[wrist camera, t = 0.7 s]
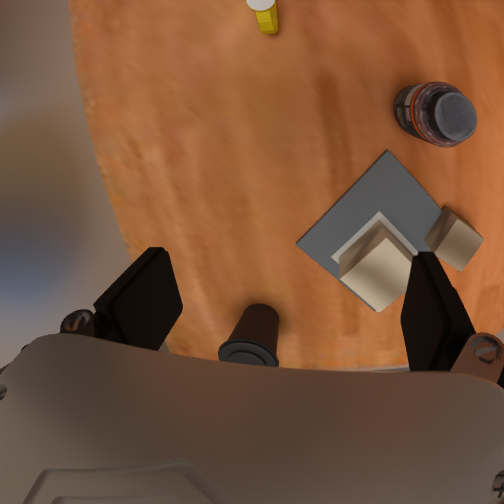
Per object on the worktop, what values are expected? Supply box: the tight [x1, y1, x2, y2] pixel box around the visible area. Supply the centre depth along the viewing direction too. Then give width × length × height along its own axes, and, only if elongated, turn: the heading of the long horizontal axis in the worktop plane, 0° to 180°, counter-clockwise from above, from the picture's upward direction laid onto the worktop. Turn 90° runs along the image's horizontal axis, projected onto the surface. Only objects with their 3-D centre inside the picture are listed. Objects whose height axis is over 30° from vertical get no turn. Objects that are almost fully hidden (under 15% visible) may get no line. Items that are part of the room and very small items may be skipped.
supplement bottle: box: [394, 82, 477, 147], centre depth 22 cm, size 6×6×11 cm
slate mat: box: [296, 150, 442, 311], centre depth 35 cm, size 16×15×1 cm
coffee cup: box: [218, 304, 279, 367], centre depth 41 cm, size 8×8×10 cm
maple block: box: [339, 220, 414, 313], centre depth 33 cm, size 7×7×5 cm
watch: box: [246, 0, 278, 34], centre depth 23 cm, size 6×3×6 cm, turn 4°
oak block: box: [425, 206, 484, 272], centre depth 30 cm, size 5×5×4 cm
